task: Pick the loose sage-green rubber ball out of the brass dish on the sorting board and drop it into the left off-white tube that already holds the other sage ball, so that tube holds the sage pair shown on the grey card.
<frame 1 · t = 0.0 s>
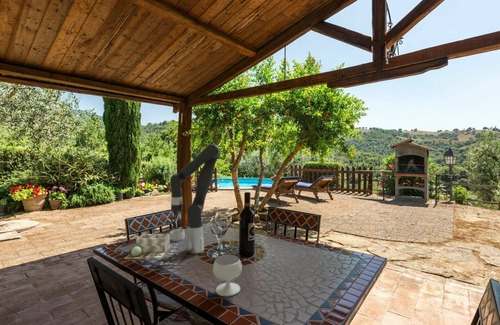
hand: (176, 226, 171), 17 cm above the table, tool pointing down, fingers open, 8 cm apart
cream ball: (146, 249, 172), point 1 cm above the table, touching sorting board
chalice: (228, 290, 121), on the table
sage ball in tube: (160, 249, 172), point 1 cm above the table, touching sorting board
teacup: (178, 240, 194), on the table
sage ball: (136, 255, 161), point 1 cm above the table, touching sorting board
sorting board: (150, 254, 168), on the table
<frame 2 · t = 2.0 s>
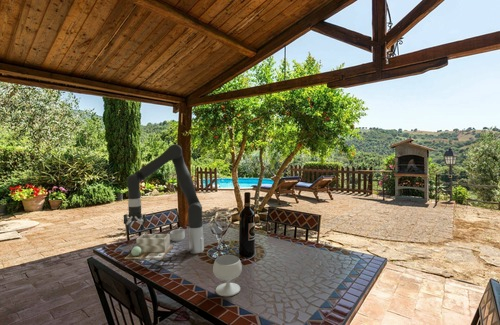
hand: (135, 230, 161), 18 cm above the table, tool pointing down, fingers open, 8 cm apart
nothing on the table moved.
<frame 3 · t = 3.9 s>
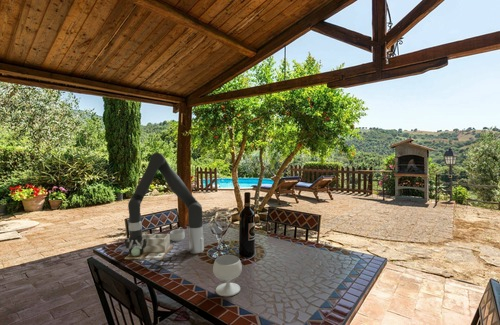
hand: (136, 254, 161), 3 cm above the table, tool pointing down, fingers closed on sage ball, 6 cm apart
sage ball: (136, 255, 161), point 1 cm above the table, touching gripper, sorting board
everything else where it was.
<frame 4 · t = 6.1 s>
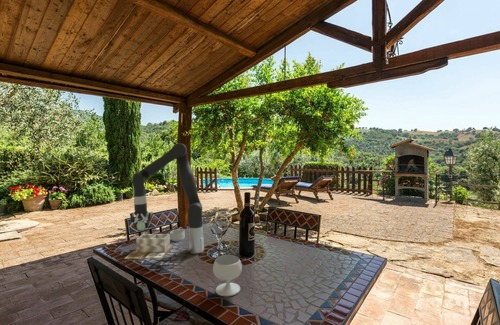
hand: (141, 228, 163), 19 cm above the table, tool pointing down, fingers closed on sage ball, 6 cm apart
sage ball: (141, 229, 163), point 18 cm above the table, touching gripper
everything else where it was.
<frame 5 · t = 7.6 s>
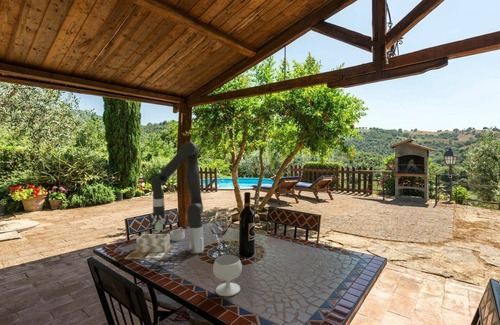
hand: (159, 229, 171), 16 cm above the table, tool pointing down, fingers closed on sage ball, 6 cm apart
sage ball: (159, 230, 172), point 14 cm above the table, touching gripper
everything else where it was.
when the fingers open (13 cm above the table, at t = 8.6 s): sage ball drops 4 cm, resting on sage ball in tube.
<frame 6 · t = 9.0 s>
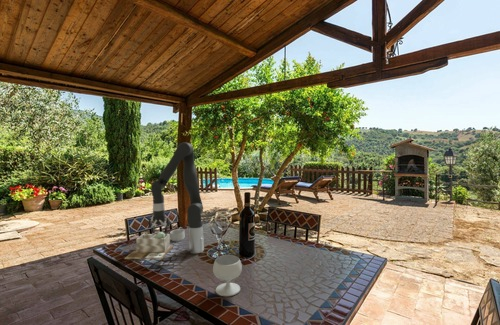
hand: (159, 232, 172), 13 cm above the table, tool pointing down, fingers open, 8 cm apart
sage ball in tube: (160, 249, 172), point 2 cm above the table, touching sage ball, sorting board
sage ball: (159, 240, 172), point 8 cm above the table, tilted 14°, touching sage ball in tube
everything else where it was.
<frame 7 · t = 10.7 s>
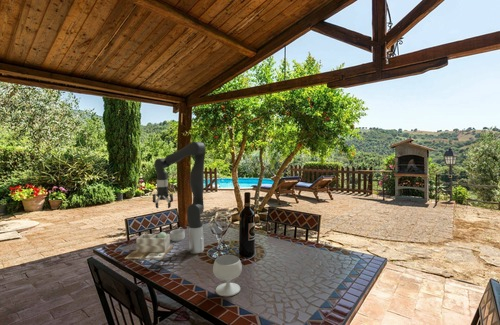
hand: (163, 208, 181), 28 cm above the table, tool pointing down, fingers open, 8 cm apart
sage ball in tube: (160, 249, 172), point 2 cm above the table, tilted 13°, touching sage ball, sorting board
sage ball: (158, 239, 171), point 8 cm above the table, tilted 58°, touching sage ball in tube, sorting board
everything else where it was.
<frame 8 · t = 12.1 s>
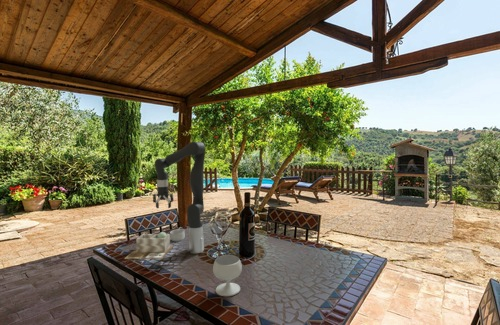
hand: (163, 208, 181), 28 cm above the table, tool pointing down, fingers open, 8 cm apart
nothing on the table moved.
at the end: sage ball inside the target area on the sorting board (0.9 cm from its centre), point 8.4 cm above the sorting board's base; the gripper is holding nothing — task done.
